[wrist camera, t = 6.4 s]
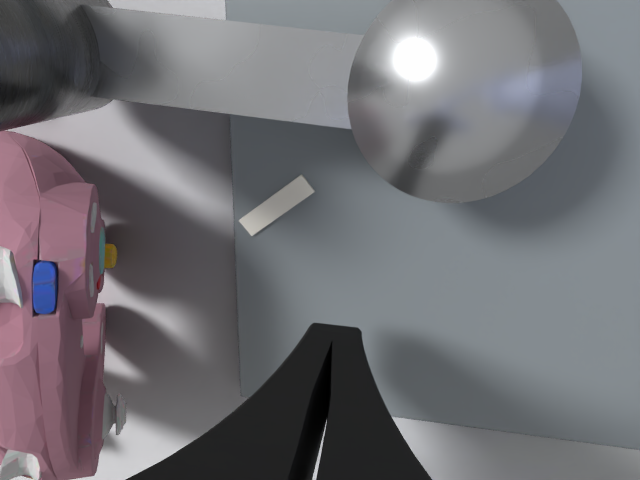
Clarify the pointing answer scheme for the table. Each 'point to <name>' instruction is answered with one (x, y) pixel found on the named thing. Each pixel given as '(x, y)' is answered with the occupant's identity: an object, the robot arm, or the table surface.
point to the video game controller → (51, 316)
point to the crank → (322, 79)
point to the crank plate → (456, 254)
